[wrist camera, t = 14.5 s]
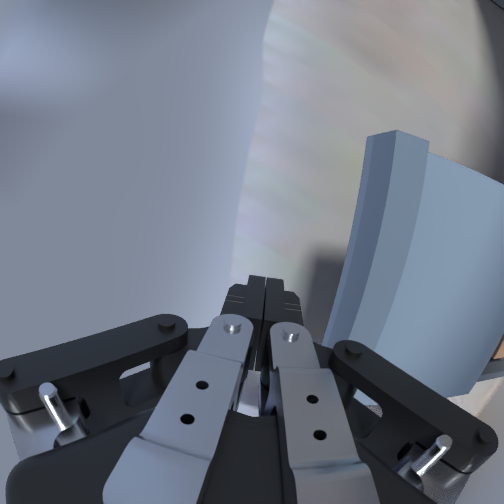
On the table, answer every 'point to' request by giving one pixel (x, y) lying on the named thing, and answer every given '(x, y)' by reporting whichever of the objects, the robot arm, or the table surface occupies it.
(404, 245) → the lid
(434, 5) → the table surface
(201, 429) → the robot arm
